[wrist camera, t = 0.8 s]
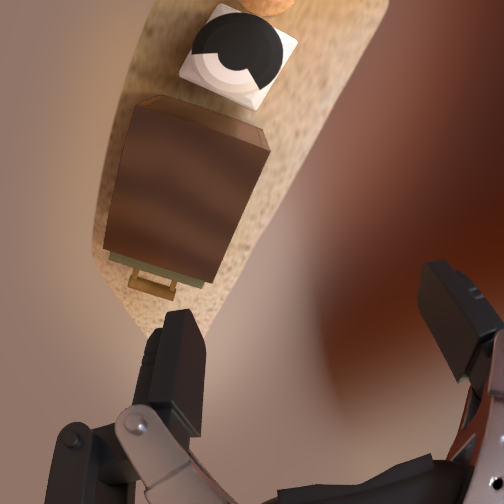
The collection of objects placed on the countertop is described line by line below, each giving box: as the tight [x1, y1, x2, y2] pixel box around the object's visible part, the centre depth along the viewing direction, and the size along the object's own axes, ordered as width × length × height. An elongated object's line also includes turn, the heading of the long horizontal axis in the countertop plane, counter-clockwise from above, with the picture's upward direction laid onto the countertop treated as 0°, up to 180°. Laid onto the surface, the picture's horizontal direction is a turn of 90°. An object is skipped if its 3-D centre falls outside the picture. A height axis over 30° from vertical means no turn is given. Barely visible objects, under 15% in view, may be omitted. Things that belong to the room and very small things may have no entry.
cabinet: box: [103, 95, 271, 283], centre depth 30 cm, size 14×11×9 cm
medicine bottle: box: [179, 4, 297, 111], centre depth 22 cm, size 7×7×12 cm
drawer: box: [109, 251, 205, 301], centre depth 32 cm, size 18×10×7 cm, turn 157°
